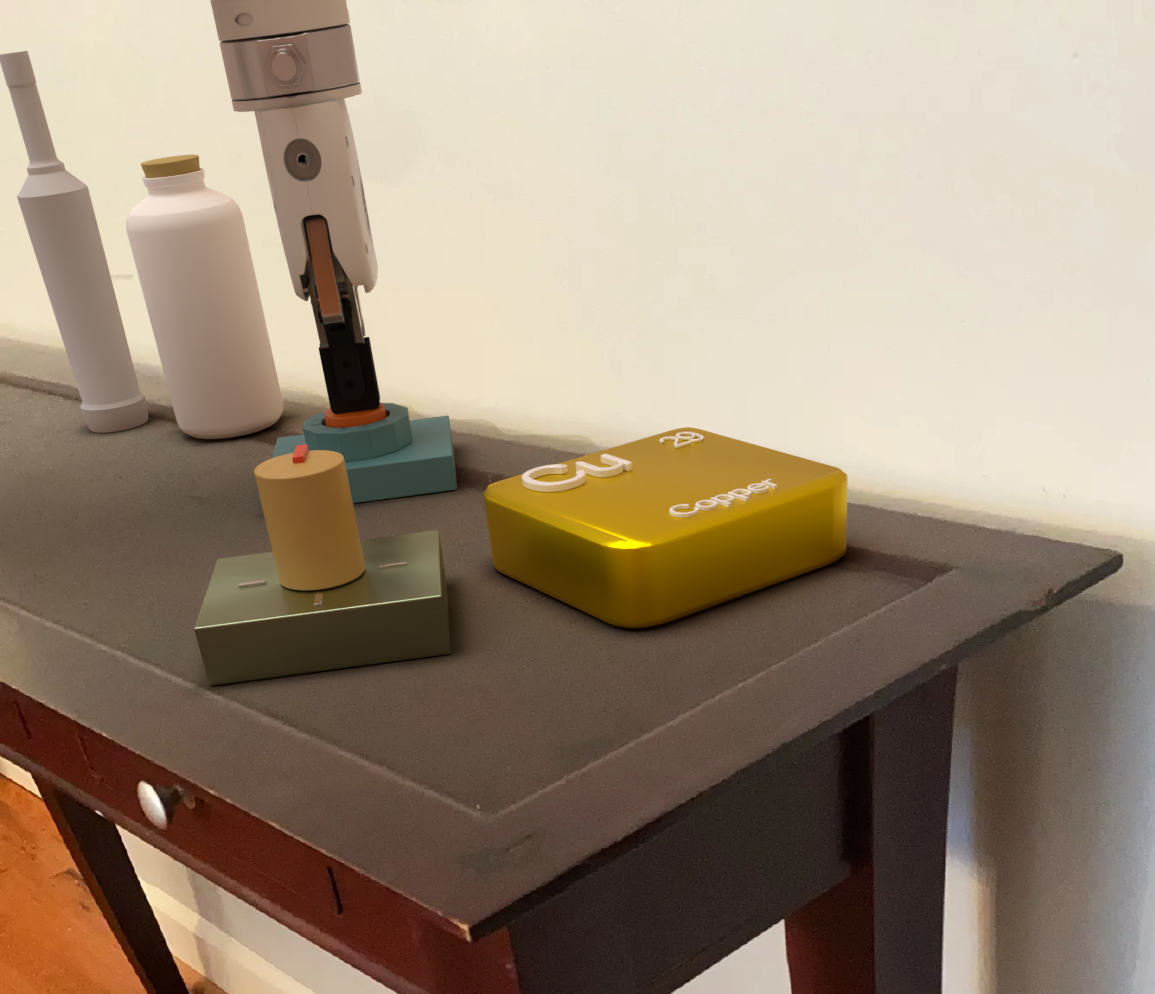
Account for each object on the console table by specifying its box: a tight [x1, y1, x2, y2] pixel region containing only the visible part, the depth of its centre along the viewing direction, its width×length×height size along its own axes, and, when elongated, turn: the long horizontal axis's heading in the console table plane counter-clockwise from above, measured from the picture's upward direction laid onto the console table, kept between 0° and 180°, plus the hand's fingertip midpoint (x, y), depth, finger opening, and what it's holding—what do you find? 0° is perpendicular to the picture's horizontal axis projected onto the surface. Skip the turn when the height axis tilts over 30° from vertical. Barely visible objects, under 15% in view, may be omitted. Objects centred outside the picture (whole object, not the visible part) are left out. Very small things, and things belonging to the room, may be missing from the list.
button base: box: [271, 402, 458, 504], centre depth 93 cm, size 12×10×4 cm
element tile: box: [482, 426, 849, 629], centre depth 75 cm, size 15×15×5 cm
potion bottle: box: [125, 154, 285, 440], centre depth 104 cm, size 8×8×18 cm
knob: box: [253, 444, 365, 590], centre depth 70 cm, size 4×4×6 cm
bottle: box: [0, 50, 149, 434], centre depth 107 cm, size 5×5×25 cm
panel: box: [193, 529, 452, 687], centre depth 72 cm, size 12×10×3 cm
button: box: [324, 401, 387, 428], centre depth 92 cm, size 4×4×2 cm
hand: (356, 408), depth 92 cm, fingers closed
